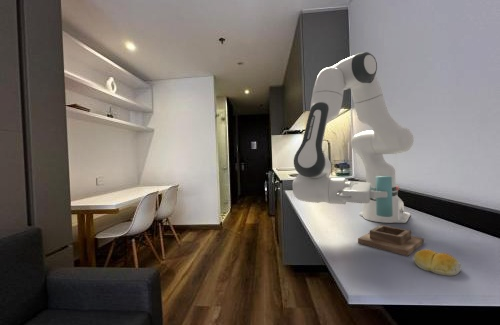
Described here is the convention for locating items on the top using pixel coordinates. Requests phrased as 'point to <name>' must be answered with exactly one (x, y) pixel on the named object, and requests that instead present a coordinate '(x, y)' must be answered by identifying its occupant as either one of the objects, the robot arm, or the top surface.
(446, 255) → the bread roll
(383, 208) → the teal post
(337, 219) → the top surface
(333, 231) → the top surface
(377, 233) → the walnut base
